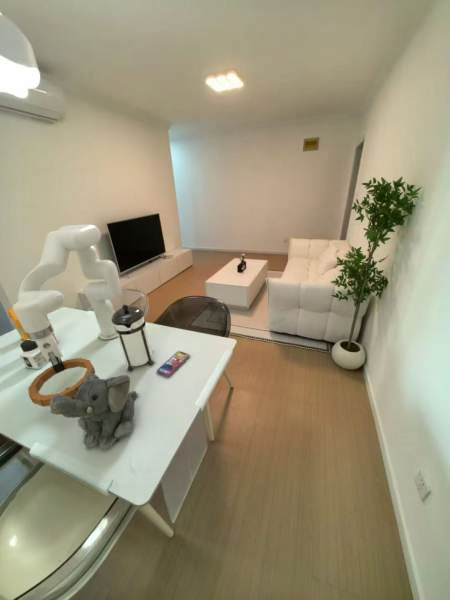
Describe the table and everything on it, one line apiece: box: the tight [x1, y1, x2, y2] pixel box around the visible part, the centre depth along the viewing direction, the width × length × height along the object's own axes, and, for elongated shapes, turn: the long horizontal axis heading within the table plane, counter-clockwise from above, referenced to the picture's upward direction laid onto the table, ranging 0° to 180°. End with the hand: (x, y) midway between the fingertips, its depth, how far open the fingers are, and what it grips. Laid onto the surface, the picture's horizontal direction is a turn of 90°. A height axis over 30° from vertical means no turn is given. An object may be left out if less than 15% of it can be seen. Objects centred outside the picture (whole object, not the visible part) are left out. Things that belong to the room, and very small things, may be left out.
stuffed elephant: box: [49, 373, 138, 449], centre depth 72 cm, size 19×21×27 cm
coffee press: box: [111, 304, 155, 372], centre depth 102 cm, size 17×16×30 cm
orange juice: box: [7, 307, 29, 341], centre depth 128 cm, size 8×9×20 cm
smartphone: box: [157, 350, 190, 377], centre depth 104 cm, size 1×7×15 cm
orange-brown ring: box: [27, 357, 96, 408], centre depth 85 cm, size 20×20×3 cm
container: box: [18, 339, 48, 370], centre depth 108 cm, size 8×8×13 cm
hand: (60, 369), depth 91 cm, fingers closed on orange-brown ring, 2 cm apart
